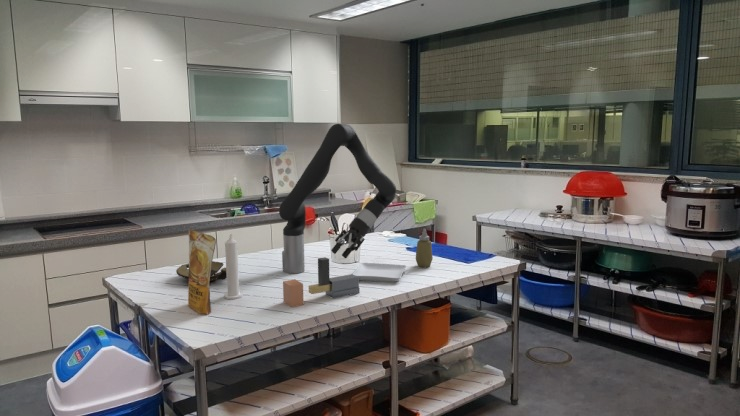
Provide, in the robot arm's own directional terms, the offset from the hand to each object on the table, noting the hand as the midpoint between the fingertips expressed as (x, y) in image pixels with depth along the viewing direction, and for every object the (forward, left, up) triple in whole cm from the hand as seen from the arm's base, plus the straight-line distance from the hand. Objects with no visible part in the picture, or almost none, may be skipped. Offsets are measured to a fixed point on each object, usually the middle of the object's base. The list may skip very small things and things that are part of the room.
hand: (338, 254), depth 206 cm
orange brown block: (-14, -14, -16) cm, 25 cm away
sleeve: (+1, +1, -16) cm, 16 cm away
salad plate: (+11, +29, -17) cm, 35 cm away
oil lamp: (-61, +7, -16) cm, 64 cm away
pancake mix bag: (-44, -26, -16) cm, 54 cm away
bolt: (-2, -2, -13) cm, 14 cm away
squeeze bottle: (+28, +50, -16) cm, 59 cm away
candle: (-39, -11, -16) cm, 44 cm away
